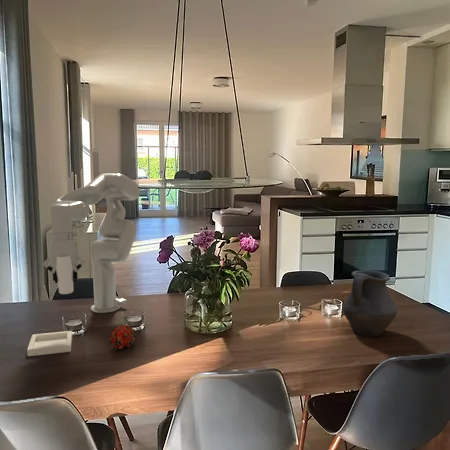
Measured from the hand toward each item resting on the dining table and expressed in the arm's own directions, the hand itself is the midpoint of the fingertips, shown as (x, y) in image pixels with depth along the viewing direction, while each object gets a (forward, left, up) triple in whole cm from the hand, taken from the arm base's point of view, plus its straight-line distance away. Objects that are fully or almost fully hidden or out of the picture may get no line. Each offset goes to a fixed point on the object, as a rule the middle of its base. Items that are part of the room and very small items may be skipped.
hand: (65, 281), depth 177 cm
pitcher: (-113, +33, -20) cm, 119 cm away
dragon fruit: (-20, +21, -20) cm, 36 cm away
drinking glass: (0, 0, -5) cm, 5 cm away
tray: (+5, +13, -20) cm, 25 cm away
